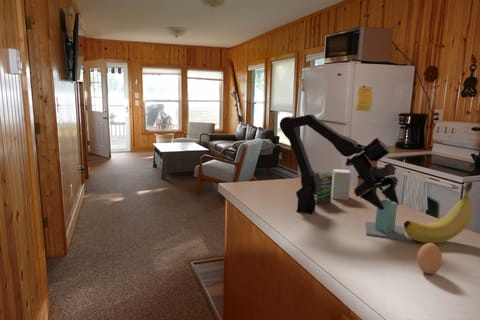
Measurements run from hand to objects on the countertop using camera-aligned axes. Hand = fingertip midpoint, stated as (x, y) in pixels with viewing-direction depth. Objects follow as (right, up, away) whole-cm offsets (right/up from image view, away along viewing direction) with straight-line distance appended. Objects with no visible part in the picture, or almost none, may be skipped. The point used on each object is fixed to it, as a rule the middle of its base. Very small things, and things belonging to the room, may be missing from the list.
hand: (390, 207), depth 116 cm
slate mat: (-1, -9, +3) cm, 9 cm away
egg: (-1, -14, -25) cm, 29 cm away
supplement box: (-5, -2, +43) cm, 43 cm away
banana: (+12, -11, -5) cm, 17 cm away
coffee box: (-15, -3, +34) cm, 37 cm away
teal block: (-1, -8, +3) cm, 9 cm away
